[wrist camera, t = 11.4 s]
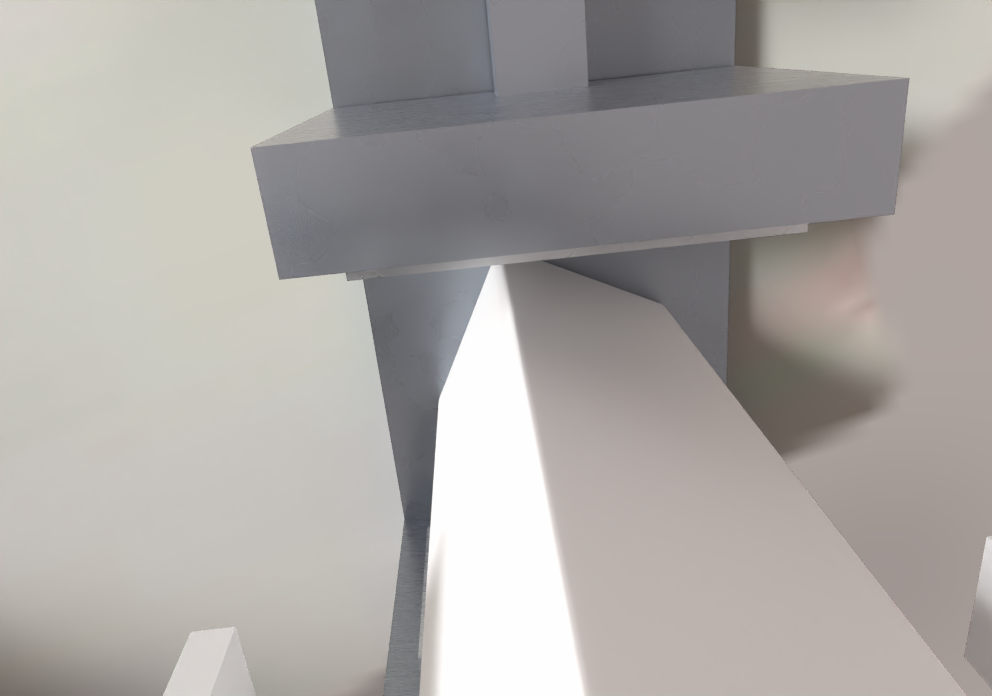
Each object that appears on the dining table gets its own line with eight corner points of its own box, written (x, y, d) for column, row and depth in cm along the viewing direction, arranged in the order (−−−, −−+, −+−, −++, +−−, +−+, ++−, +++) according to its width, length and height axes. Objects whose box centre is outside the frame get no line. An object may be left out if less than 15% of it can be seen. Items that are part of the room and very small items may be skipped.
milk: (593, 448, 27) (1006, 1728, 7) (435, 398, 26) (337, 1742, 5) (665, 299, 25) (1613, 1506, 4) (496, 238, 24) (713, 1458, 3)
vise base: (416, 548, 30) (393, 789, 20) (290, -192, 20) (135, -408, 11) (710, 516, 30) (829, 742, 20) (723, -237, 20) (960, -495, 11)
